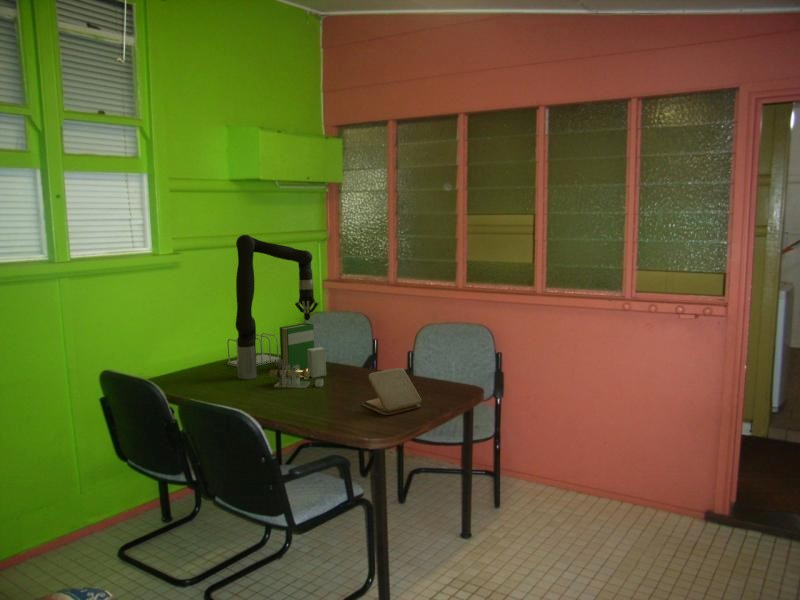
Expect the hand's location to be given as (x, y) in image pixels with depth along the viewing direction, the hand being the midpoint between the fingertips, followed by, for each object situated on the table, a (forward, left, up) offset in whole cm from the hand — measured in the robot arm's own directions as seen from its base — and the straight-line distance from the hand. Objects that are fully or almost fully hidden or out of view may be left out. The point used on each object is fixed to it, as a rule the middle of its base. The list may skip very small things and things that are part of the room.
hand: (307, 320), depth 349 cm
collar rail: (+2, -25, -29) cm, 38 cm away
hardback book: (-9, +10, -29) cm, 32 cm away
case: (+53, -56, -30) cm, 83 cm away
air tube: (-3, -25, -26) cm, 36 cm away
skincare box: (+6, -6, -29) cm, 30 cm away
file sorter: (-38, +20, -29) cm, 52 cm away
